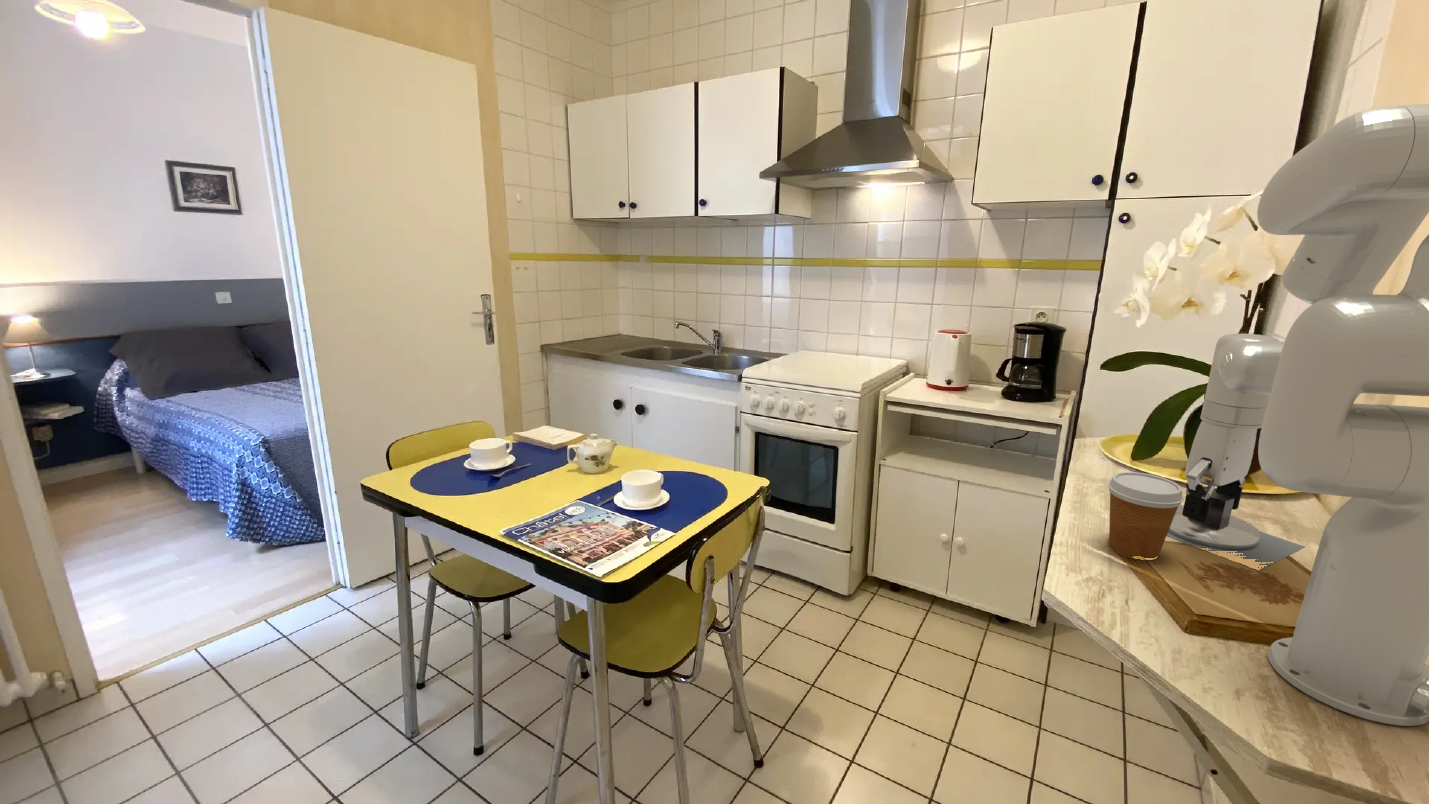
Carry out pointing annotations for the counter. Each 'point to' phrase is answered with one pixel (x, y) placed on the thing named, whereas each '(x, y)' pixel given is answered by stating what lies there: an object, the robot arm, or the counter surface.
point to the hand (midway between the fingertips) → (1209, 512)
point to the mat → (1259, 548)
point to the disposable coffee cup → (1141, 513)
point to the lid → (1216, 527)
